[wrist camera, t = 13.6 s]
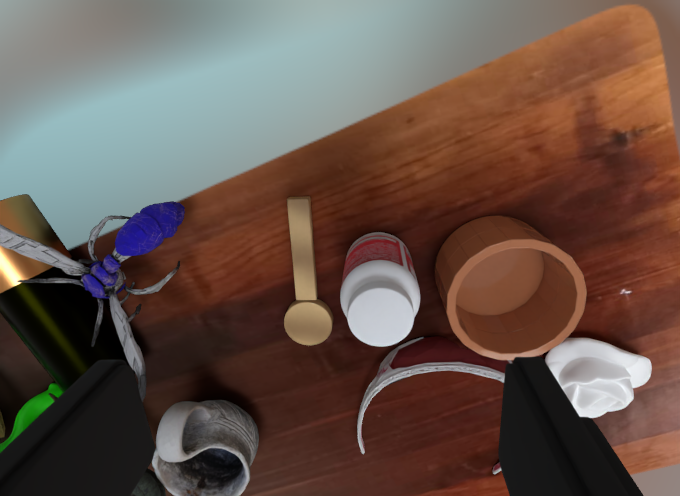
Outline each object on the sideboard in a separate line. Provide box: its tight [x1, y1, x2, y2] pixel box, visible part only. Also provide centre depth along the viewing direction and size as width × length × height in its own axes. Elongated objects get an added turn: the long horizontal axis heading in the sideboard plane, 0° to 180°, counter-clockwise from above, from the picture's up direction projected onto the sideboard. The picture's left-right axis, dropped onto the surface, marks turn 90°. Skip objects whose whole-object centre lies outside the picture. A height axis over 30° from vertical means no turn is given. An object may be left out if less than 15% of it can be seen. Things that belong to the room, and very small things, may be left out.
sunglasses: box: [357, 336, 512, 474], centre depth 42 cm, size 17×17×5 cm
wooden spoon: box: [284, 196, 333, 345], centre depth 39 cm, size 15×5×1 cm, turn 3°
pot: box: [435, 216, 587, 360], centre depth 35 cm, size 10×10×7 cm
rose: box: [545, 338, 652, 418], centre depth 39 cm, size 10×4×10 cm
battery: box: [0, 194, 135, 393], centre depth 39 cm, size 7×7×20 cm
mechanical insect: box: [0, 201, 185, 401], centre depth 34 cm, size 19×14×15 cm
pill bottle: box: [340, 232, 420, 347], centre depth 34 cm, size 6×6×11 cm
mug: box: [152, 400, 259, 496], centre depth 41 cm, size 10×12×10 cm
